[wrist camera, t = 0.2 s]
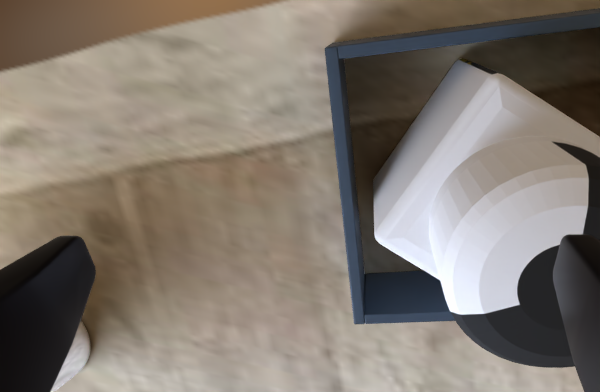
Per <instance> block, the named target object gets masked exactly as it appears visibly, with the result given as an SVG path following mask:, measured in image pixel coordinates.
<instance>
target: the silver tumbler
mask: <svg viewBox="0 0 600 392" xmlns="http://www.w3.org/2000/svg"><path fill="white" fill-rule="evenodd" d="M89 355H90V339H89V335H88V332H87V330H86V328H85V326H84V324H83V323H82V321H80V324H79V327H78V330H77V332H76V335H75V338H74V341H73V343H72V346H71V348H70V350H69V353H68V355H67V357H66V359H65V362H64V364H63V366H62V368H61V370H60V372H59V375H58V377H57V379H56V381H55V383H54V385H53V387H52V390H51V392H55V391H56V390H58V389H59V388H60V387H61V386H63V385H64V384H65V383H66V382H68V381H69V380H70V379H71V378H73V377H74V376H75V375H76V374H77V373H78V372H79V371H80V370H81V369H82V368H83V367H84V366H85V364H86V362H87V360H88V358H89Z"/></svg>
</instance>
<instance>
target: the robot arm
mask: <svg viewBox="0 0 600 392" xmlns="http://www.w3.org/2000/svg"><path fill="white" fill-rule="evenodd" d="M95 275H96V270H95V265H94V263H93V261H92V258H91V256H90V254H89V251H88V249H87V247H86V244H85V242H84V240H83V239H82V238H81V237H79V236H59V237H57V238H55V239H53V240H51V241H50V242H48V243H46V244H44V245H43V246H41V247H39V248H38V249H36V250H34V251H32V252H31V253H29V254H27V255H25V256H24V257H22V258H20V259H18V260H17V261H15V262H13V263H11V264H10V265H8V266H6V267H4V268H3V269H1V270H0V392H51V390H52V387H53V385H54V383H55V381H56V379H57V377H58V375H59V372H60V370H61V368H62V366H63V364H64V362H65V359H66V357H67V355H68V353H69V350H70V348H71V346H72V343H73V341H74V338H75V335H76V332H77V330H78V327H79V324H80V321H81V318H82V315H83V312H84V309H85V306H86V303H87V300H88V297H89V294H90V292H91V289H92V286H93V283H94V280H95ZM553 282H554V286H555V290H556V294H557V299H558V303H559V307H560V311H561V315H562V319H563V323H564V327H565V331H566V335H567V339H568V343H569V347H570V351H571V355H572V358H573V362H574V365H575V367H576V370H577V373H578V376H579V379H580V381H581V384H582V386H583V389H584V392H600V241H599V240H598V239H596V238H595V237H593V236H591V235H587V234H568V235H565V236H564V237H563V238H562V240H561V242H560V246H559V250H558V254H557V258H556V262H555V265H554V270H553Z"/></svg>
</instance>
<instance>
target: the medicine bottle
mask: <svg viewBox="0 0 600 392" xmlns="http://www.w3.org/2000/svg"><path fill="white" fill-rule="evenodd" d="M373 198H374V235H375V239H376V240H377V241H378V242H379V244H381V245H382V246H384V247H386V248H387V249H389V250H391V251H392V252H394V253H396V254H397V255H399V256H401V257H402V258H404V259H406V260H407V261H409V262H411V263H412V264H414V265H416V266H417V267H419V268H420V269H422V270H424V271H425V272H427V273H429V274H430V275H432V276H434V277H435V278H437V279H439V280H440V282H441V285H442V289H443V293H444V296H445V300H446V302H447V305H448V307H449V310H450V312H451V314H452V316H453V317H454V319H455V321H456V323H457V324H458V325H459V326H460V328H461V329H462V330H463V331H464V333H465V334H466V335H468V336H469V337H470V338H471V339H472V340H473V341H474V342H475V343H477V344H478V345H479V346H481V347H482V348H484V349H485V350H487V351H489V352H491V353H493V354H495V355H496V356H498V357H501V358H504V359H506V360H509V361H512V362H515V363H520V364H524V365H529V366H537V367H572V366H575V365H574V362H573V358H572V355H571V351H570V347H569V343H568V339H567V335H566V331H565V327H564V323H563V319H562V315H561V311H560V307H559V303H558V299H557V294H556V290H555V286H554V282H553V270H554V265H555V262H556V258H557V254H558V250H559V246H560V242H561V240H562V238H563V237H564V236H565V235H568V234H587V235H591V236H593V237H595V238H596V239H598V240H599V241H600V137H599V136H598V135H596V134H595V133H593V132H591V131H590V130H588V129H587V128H585V127H584V126H582V125H581V124H579V123H577V122H576V121H574V120H573V119H571V118H570V117H568V116H567V115H565V114H564V113H562V112H560V111H559V110H557V109H556V108H554V107H553V106H551V105H550V104H548V103H546V102H545V101H543V100H542V99H540V98H539V97H537V96H536V95H534V94H532V93H531V92H529V91H528V90H526V89H525V88H523V87H522V86H520V85H519V84H517V83H515V82H514V81H512V80H511V79H509V78H508V77H506V76H505V75H503V74H500V73H498V72H496V71H493V70H491V69H488V68H486V67H484V66H481V65H479V64H476V63H474V62H472V61H469V60H467V59H463V58H462V59H458V60H457V61H456V62H455V63H454V64H453V66H452V67H451V68H450V70H449V71H448V73H447V74H446V76H445V77H444V78H443V80H442V81H441V83H440V84H439V86H438V87H437V89H436V90H435V91H434V93H433V94H432V96H431V97H430V99H429V100H428V101H427V103H426V104H425V106H424V107H423V109H422V110H421V112H420V113H419V114H418V116H417V117H416V119H415V120H414V122H413V123H412V125H411V126H410V127H409V129H408V130H407V132H406V133H405V135H404V136H403V137H402V139H401V140H400V142H399V143H398V145H397V146H396V148H395V149H394V150H393V152H392V153H391V155H390V156H389V158H388V159H387V160H386V162H385V163H384V165H383V166H382V168H381V169H380V171H379V172H378V173H377V175H376V176H375V178H374V180H373Z"/></svg>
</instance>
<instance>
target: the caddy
mask: <svg viewBox="0 0 600 392" xmlns="http://www.w3.org/2000/svg"><path fill="white" fill-rule="evenodd" d="M598 27H600V8H599V9H591V10H583V11H575V12H568V13H560V14H552V15H544V16H536V17H529V18H521V19H513V20H505V21H497V22H490V23H482V24H474V25H466V26H458V27H451V28H443V29H435V30H427V31H419V32H412V33H404V34H396V35H388V36H380V37H373V38H365V39H357V40H349V41H343V42H334V43H331V44H330V45H329V46H327V47H326V48H325V56H326V66H327V75H328V84H329V94H330V103H331V112H332V122H333V131H334V140H335V149H336V159H337V168H338V177H339V187H340V196H341V205H342V215H343V224H344V233H345V243H346V252H347V261H348V271H349V280H350V289H351V299H352V308H353V317H354V324H365V323H366V324H374V323H403V322H431V321H455V319H454V317H453V316H452V314H451V312H450V310H449V307H448V305H447V302H446V300H445V296H444V293H443V289H442V285H441V282H440V280H439V279H437V278H435V277H434V276H432V275H430V274H429V273H427V272H425V271H406V272H387V273H367V274H365V271H364V261H363V250H362V240H361V229H360V219H359V208H358V198H357V187H356V177H355V166H354V156H353V146H352V135H351V125H350V114H349V104H348V93H347V83H346V72H345V62H344V59H345V58H353V57H362V56H370V55H378V54H386V53H394V52H402V51H411V50H419V49H427V48H435V47H443V46H451V45H460V44H468V43H476V42H484V41H492V40H500V39H509V38H517V37H525V36H533V35H541V34H549V33H558V32H566V31H574V30H582V29H590V28H598Z"/></svg>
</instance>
